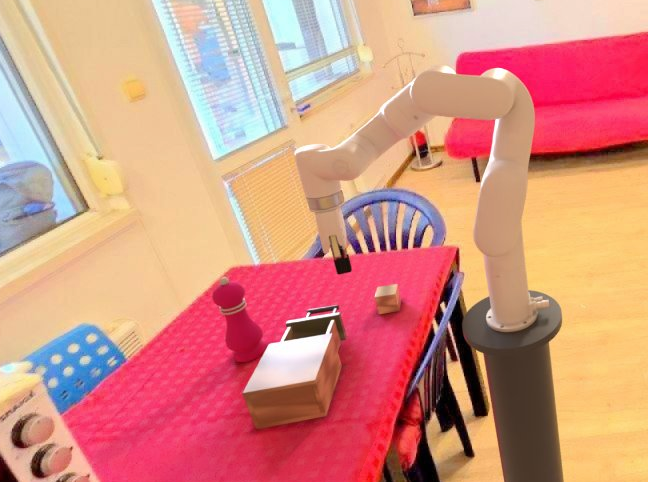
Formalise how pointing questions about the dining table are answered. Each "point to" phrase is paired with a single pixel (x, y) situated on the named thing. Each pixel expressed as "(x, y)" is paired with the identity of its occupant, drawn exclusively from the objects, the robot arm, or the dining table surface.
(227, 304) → the pepper mill
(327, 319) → the drawer
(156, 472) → the dining table surface
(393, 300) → the block
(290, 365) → the cabinet
